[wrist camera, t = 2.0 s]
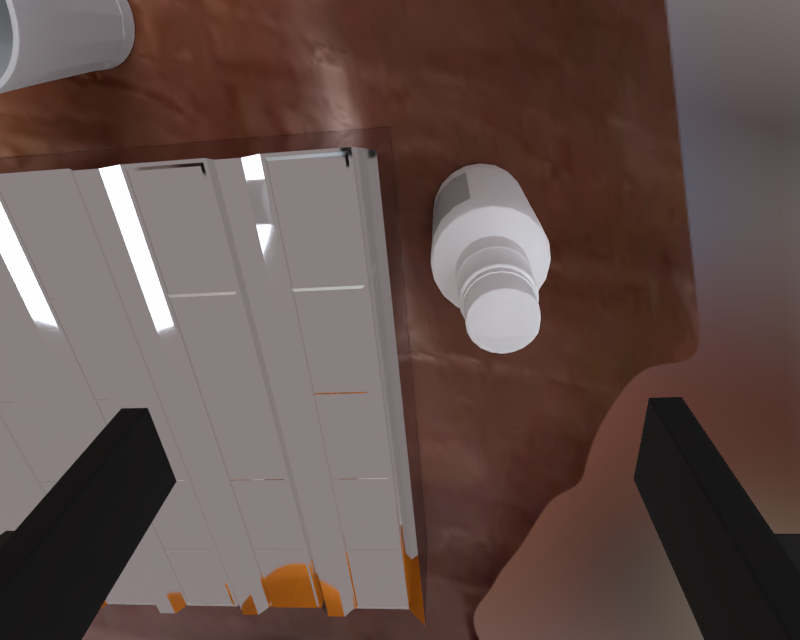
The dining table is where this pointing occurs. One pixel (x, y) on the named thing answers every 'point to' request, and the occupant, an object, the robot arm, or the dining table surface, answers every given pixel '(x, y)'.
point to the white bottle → (490, 256)
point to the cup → (61, 39)
